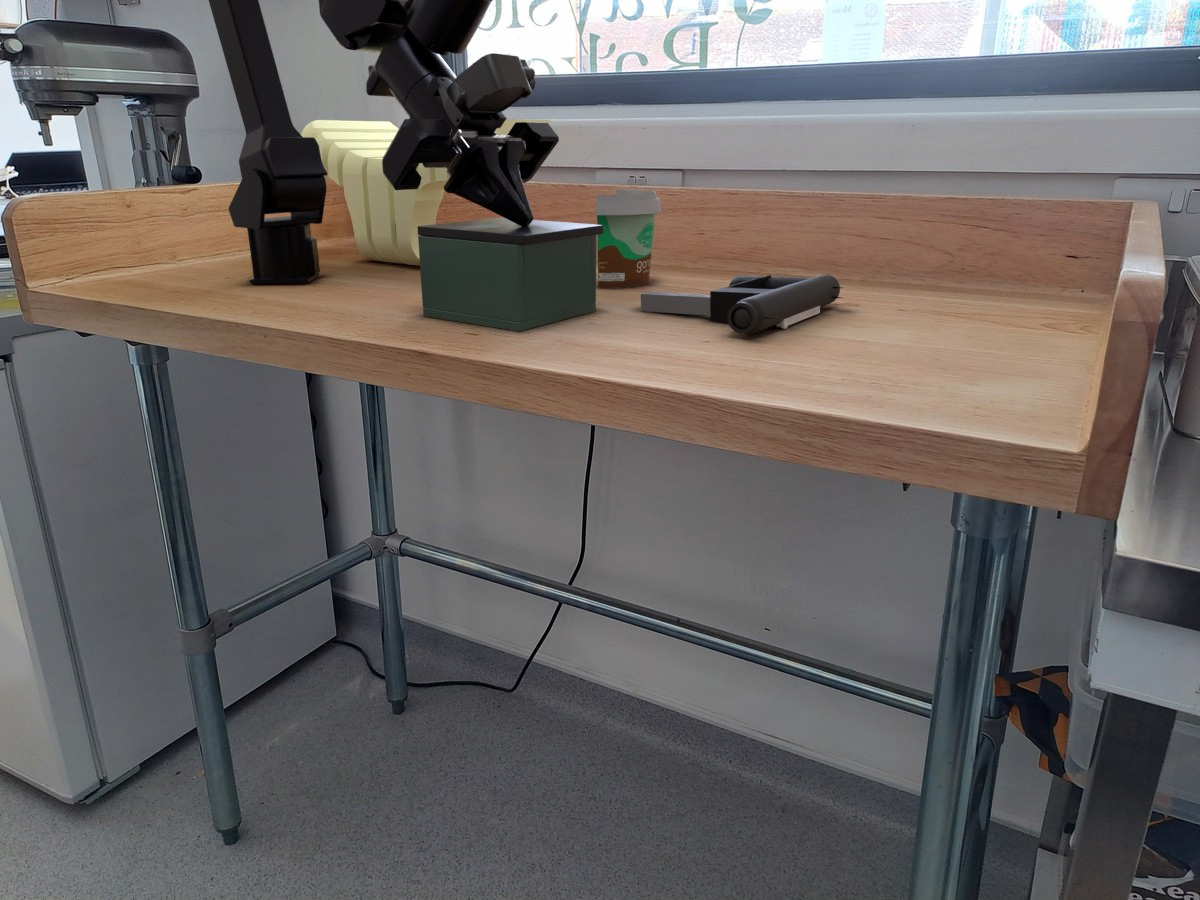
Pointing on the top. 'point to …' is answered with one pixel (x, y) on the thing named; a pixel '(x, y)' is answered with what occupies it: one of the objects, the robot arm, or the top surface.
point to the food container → (625, 237)
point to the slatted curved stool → (381, 187)
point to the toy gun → (752, 301)
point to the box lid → (510, 231)
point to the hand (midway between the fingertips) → (528, 223)
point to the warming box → (507, 281)
